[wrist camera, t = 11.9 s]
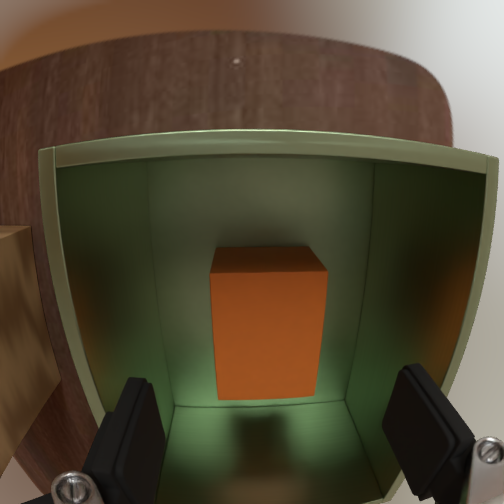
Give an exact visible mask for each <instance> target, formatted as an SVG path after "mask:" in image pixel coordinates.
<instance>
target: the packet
mask: <svg viewBox="0 0 504 504" xmlns="http://www.w3.org/2000/svg"><path fill="white" fill-rule="evenodd" d="M209 280H210V299H211V316H212V331H213V346H214V359H215V372H216V384H217V396H218V400H264V399H284V398H299V397H311V396H314V395H315V388H316V381H317V374H318V366H319V359H320V351H321V343H322V334H323V325H324V316H325V306H326V295H327V284H328V270H327V269H326V268H325V266H324V265H323V264H322V262H321V261H320V260H319V259H318V257H317V256H316V255H315V254H314V252H313V251H312V250H311V248H310V247H309V246H301V247H220V248H216V249H215V253H214V257H213V261H212V265H211V269H210V273H209Z"/></svg>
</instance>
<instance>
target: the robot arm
mask: <svg viewBox="0 0 504 504" xmlns="http://www.w3.org/2000/svg"><path fill="white" fill-rule="evenodd" d="M382 429H383V431H384V433H385V436H386V438H387V440H388V442H389V444H390V446H391V448H392V450H393V452H394V454H395V457H396V459H397V461H398V463H399V465H400V467H401V469H402V472H403V474H404V476H405V478H406V480H407V482H408V485H409V487H410V489H411V491H412V493H413V494H414V495H416V496H418V498H419V500H420V501H422V500H425V499H428V498H430V497H433V498H434V500H435V504H504V443H503V442H502V441H501V440H499V439H497V438H494V437H483V438H481V439H479V440H477V441H476V440H475V439H474V437H475V436H474V435H473V433H472V432H471V430H470V429H469V427H468V426H467V425H466V423H465V422H464V420H463V419H462V418H461V416H460V415H459V414H458V412H457V411H456V410H455V408H454V407H453V406H452V404H451V403H450V402H449V400H448V399H447V398H446V396H445V395H444V394H443V392H442V391H441V390H440V388H439V387H438V386H437V384H436V383H435V382H434V381H433V379H432V378H431V377H430V375H429V374H428V373H427V372H426V370H425V369H424V368H423V366H422V365H421V364H420V363H415V364H409V365H405V366H403V368H402V370H400V371H399V372H398V375H397V378H396V381H395V385H394V388H393V391H392V394H391V397H390V400H389V403H388V406H387V409H386V412H385V415H384V418H383V420H382ZM165 441H166V437H165V432H164V428H163V424H162V421H161V417H160V413H159V409H158V405H157V401H156V397H155V393H154V389H153V385H152V383H148V382H147V380H146V378H137V377H129V378H128V379H127V382H126V384H125V386H124V388H123V391H122V393H121V395H120V398H119V400H118V403H117V405H116V407H115V410H114V412H107V413H106V414H105V416H104V418H103V420H102V422H101V425H100V427H99V429H98V432H97V434H96V436H95V439H94V441H93V444H92V446H91V448H90V451H89V453H88V456H87V458H86V461H85V463H84V466H83V468H82V471H81V472H80V471H67V472H64V473H62V474H60V475H59V476H57V477H56V478H55V480H54V481H53V482H52V486H51V493H49V494H46V495H43V496H41V497H38V498H35V499H33V500H30V501H27V502H24V503H21V504H154V498H155V493H156V488H157V482H158V477H159V472H160V467H161V462H162V457H163V452H164V447H165Z"/></svg>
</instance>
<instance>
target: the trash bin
mask: <svg viewBox="0 0 504 504" xmlns="http://www.w3.org/2000/svg"><path fill="white" fill-rule="evenodd" d="M38 164H39V184H40V198H41V209H42V218H43V227H44V234H45V242H46V248H47V255H48V260H49V266H50V272H51V277H52V282H53V287H54V291H55V296H56V300H57V305H58V309H59V313H60V317H61V321H62V325H63V328H64V332H65V335H66V339H67V342H68V346H69V349H70V352H71V356H72V359H73V362H74V365H75V368H76V371H77V374H78V377H79V380H80V382H81V385H82V388H83V391H84V393H85V396H86V399H87V401H88V404H89V406H90V409H91V411H92V414H93V416H94V418H95V421H96V423H97V425H98V428H99V427H100V425H101V422H102V420H103V418H104V416H105V414H106V413H107V412H114V410H115V407H116V405H117V403H118V400H119V398H120V395H121V393H122V391H123V388H124V386H125V384H126V382H127V379H128V378H129V377H137V378H146V380H147V382H148V383H152V385H153V389H154V393H155V397H156V401H157V405H158V409H159V413H160V417H161V421H162V424H163V428H164V432H165V437H166V441H165V447H164V452H163V457H162V462H161V467H160V472H159V477H158V482H157V488H156V493H155V498H154V504H380V503H384V502H387V501H390V500H391V499H392V497H393V496H394V494H395V493H396V491H397V490H398V488H399V487H400V485H401V484H402V482H403V480H404V479H405V476H404V474H403V472H402V469H401V467H400V465H399V463H398V461H397V459H396V457H395V454H394V452H393V450H392V448H391V446H390V444H389V442H388V440H387V438H386V436H385V433H384V431H383V429H382V420H383V418H384V415H385V412H386V409H387V406H388V403H389V400H390V397H391V394H392V391H393V388H394V385H395V381H396V378H397V375H398V372H399V371H400V370H402V368H403V366H405V365H409V364H415V363H420V364H421V365H422V366H423V368H424V369H425V370H426V372H427V373H428V374H429V375H430V377H431V378H432V379H433V381H434V382H435V383H436V384H437V386H438V387H439V388H440V390H441V391H442V392H443V394H444V395H445V396H446V398H447V396H448V393H449V391H450V388H451V386H452V384H453V381H454V379H455V376H456V373H457V371H458V368H459V365H460V362H461V360H462V357H463V354H464V351H465V348H466V345H467V342H468V339H469V336H470V333H471V329H472V326H473V323H474V319H475V316H476V312H477V308H478V305H479V301H480V297H481V292H482V288H483V284H484V279H485V275H486V270H487V265H488V259H489V254H490V248H491V242H492V235H493V228H494V220H495V211H496V201H497V188H498V169H499V159H498V158H497V157H494V156H489V155H485V154H481V153H476V152H472V151H467V150H462V149H457V148H452V147H447V146H441V145H436V144H430V143H424V142H418V141H411V140H404V139H397V138H389V137H381V136H372V135H362V134H352V133H340V132H326V131H310V130H286V129H213V130H190V131H173V132H159V133H148V134H137V135H128V136H119V137H111V138H103V139H96V140H89V141H82V142H76V143H70V144H64V145H58V146H53V147H48V148H42V149H39V150H38ZM301 246H309V247H310V248H311V250H312V251H313V252H314V254H315V255H316V256H317V257H318V259H319V260H320V261H321V262H322V264H323V265H324V266H325V268H326V269H327V270H328V284H327V295H326V306H325V316H324V325H323V334H322V343H321V351H320V359H319V366H318V374H317V381H316V388H315V395H314V396H311V397H299V398H284V399H264V400H218V396H217V384H216V372H215V359H214V346H213V331H212V316H211V299H210V280H209V273H210V269H211V265H212V261H213V257H214V253H215V249H216V248H220V247H301Z"/></svg>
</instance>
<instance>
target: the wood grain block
mask: <svg viewBox="0 0 504 504" xmlns="http://www.w3.org/2000/svg"><path fill="white" fill-rule="evenodd" d="M60 381H61V376H60V373H59V370H58V366H57V363H56V360H55V356H54V353H53V349H52V345H51V341H50V338H49V334H48V329H47V325H46V321H45V316H44V312H43V307H42V302H41V297H40V291H39V286H38V280H37V273H36V267H35V259H34V251H33V243H32V233H31V226H5V225H0V478H1V476H2V474H3V472H4V470H5V469H6V467H7V465H8V463H9V462H10V460H11V458H12V456H13V455H14V453H15V451H16V450H17V448H18V446H19V444H20V443H21V441H22V439H23V438H24V436H25V435H26V433H27V431H28V430H29V428H30V426H31V425H32V423H33V422H34V420H35V418H36V417H37V415H38V414H39V412H40V411H41V409H42V408H43V406H44V404H45V403H46V401H47V400H48V398H49V397H50V395H51V394H52V392H53V391H54V389H55V388H56V386H57V385H58V383H59V382H60Z"/></svg>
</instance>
